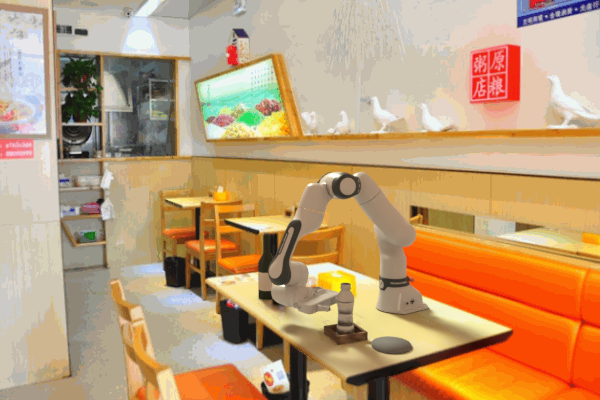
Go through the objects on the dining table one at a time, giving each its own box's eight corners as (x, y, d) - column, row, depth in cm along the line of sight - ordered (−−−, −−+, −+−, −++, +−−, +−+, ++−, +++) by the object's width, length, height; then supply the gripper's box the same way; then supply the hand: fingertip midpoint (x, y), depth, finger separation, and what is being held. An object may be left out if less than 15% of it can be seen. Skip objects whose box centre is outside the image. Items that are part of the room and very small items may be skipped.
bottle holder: (352, 329, 206) (352, 321, 205) (367, 340, 195) (367, 332, 194) (323, 333, 201) (323, 325, 201) (337, 344, 190) (337, 336, 190)
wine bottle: (261, 301, 241) (261, 235, 237) (255, 296, 248) (254, 232, 245) (278, 298, 244) (278, 233, 241) (272, 293, 252) (272, 230, 248)
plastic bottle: (353, 340, 194) (354, 286, 192) (334, 339, 196) (335, 285, 193) (355, 334, 201) (355, 282, 198) (337, 332, 202) (337, 281, 199)
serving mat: (397, 336, 198) (397, 334, 198) (419, 350, 186) (419, 348, 185) (364, 341, 193) (364, 339, 193) (384, 356, 180) (384, 354, 180)
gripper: (290, 297, 199) (320, 304, 191) (322, 285, 215) (351, 291, 207) (290, 314, 200) (320, 321, 191) (322, 300, 216) (351, 307, 207)
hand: (336, 305), depth 199 cm, fingers open, 8 cm apart
